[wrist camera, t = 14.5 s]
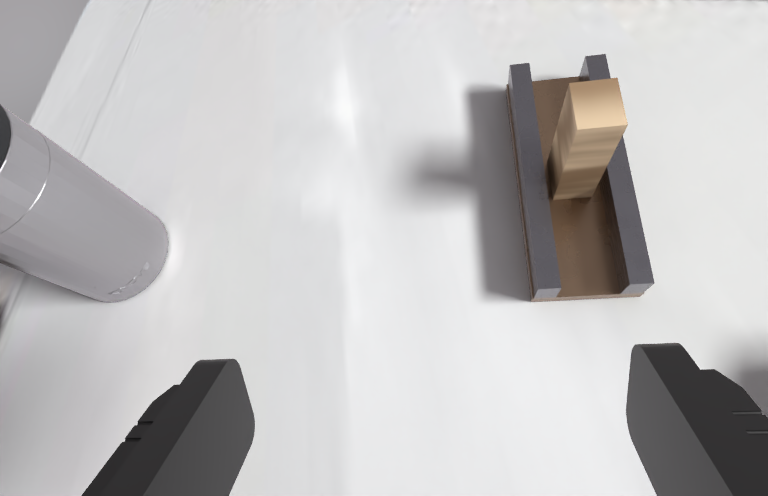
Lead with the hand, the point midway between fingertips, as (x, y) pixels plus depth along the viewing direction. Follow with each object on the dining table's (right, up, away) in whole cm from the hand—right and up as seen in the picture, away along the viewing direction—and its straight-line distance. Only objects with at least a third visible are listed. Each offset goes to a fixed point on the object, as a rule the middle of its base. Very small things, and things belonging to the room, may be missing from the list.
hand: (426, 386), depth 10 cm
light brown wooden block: (+14, +9, +31) cm, 35 cm away
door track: (+14, +8, +32) cm, 36 cm away
